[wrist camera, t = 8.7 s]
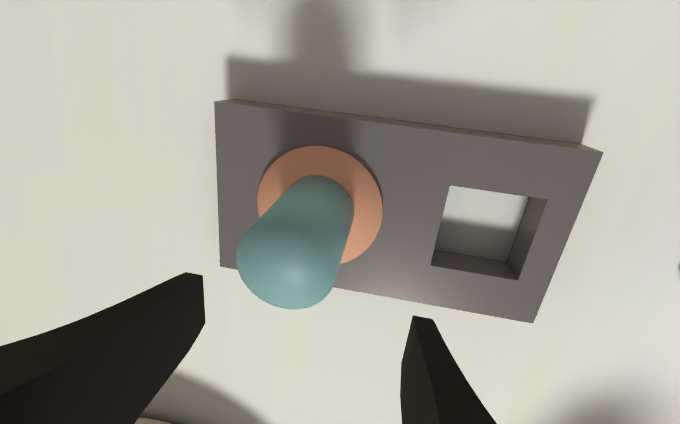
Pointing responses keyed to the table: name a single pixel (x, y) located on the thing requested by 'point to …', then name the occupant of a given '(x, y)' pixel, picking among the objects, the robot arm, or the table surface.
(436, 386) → the robot arm
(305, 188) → the plug
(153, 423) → the bowl
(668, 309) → the table surface
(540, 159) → the board with square hole
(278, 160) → the orange disc
